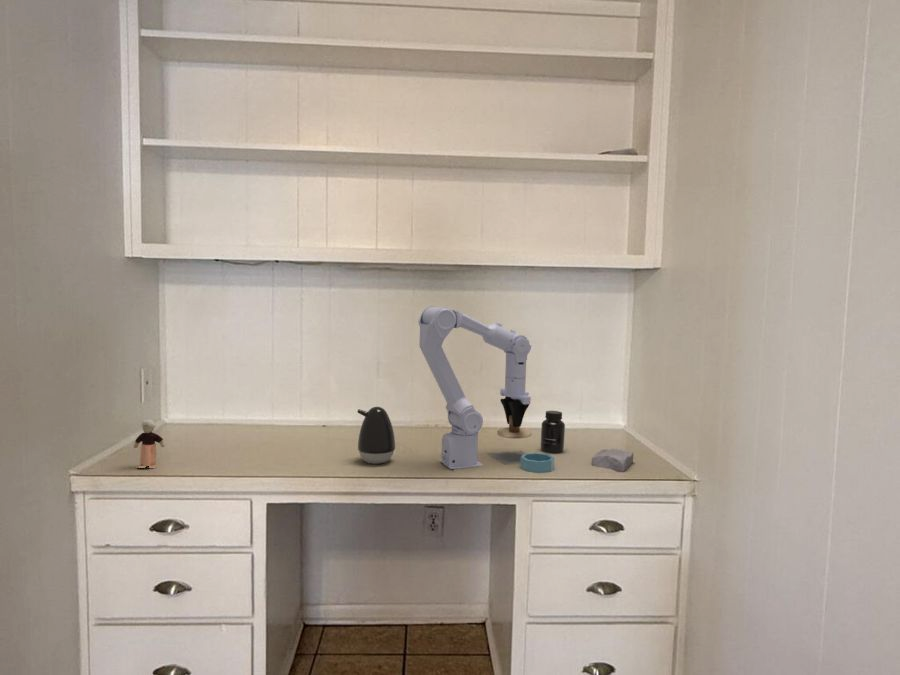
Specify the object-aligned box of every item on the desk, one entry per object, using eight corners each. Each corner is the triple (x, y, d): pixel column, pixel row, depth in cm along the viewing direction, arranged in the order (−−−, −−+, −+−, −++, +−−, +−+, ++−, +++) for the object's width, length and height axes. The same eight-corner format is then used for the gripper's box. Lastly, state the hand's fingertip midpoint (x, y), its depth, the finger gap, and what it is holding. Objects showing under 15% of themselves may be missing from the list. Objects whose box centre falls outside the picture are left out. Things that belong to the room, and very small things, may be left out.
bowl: (530, 475, 160) (531, 462, 159) (515, 466, 167) (516, 454, 167) (559, 472, 163) (559, 460, 162) (542, 463, 170) (543, 452, 170)
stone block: (590, 474, 168) (626, 473, 163) (587, 456, 168) (624, 454, 163) (601, 465, 178) (636, 463, 174) (598, 448, 178) (633, 446, 174)
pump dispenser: (359, 455, 174) (360, 402, 173) (396, 456, 174) (397, 403, 173) (354, 466, 164) (354, 410, 163) (393, 467, 164) (393, 410, 163)
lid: (506, 439, 168) (507, 421, 167) (491, 431, 177) (491, 414, 176) (537, 436, 172) (537, 418, 171) (521, 428, 180) (521, 411, 180)
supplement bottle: (546, 455, 179) (547, 414, 178) (536, 449, 185) (538, 410, 184) (567, 454, 180) (569, 413, 179) (557, 448, 187) (559, 409, 186)
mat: (504, 465, 168) (504, 464, 168) (487, 455, 178) (487, 453, 178) (539, 462, 172) (539, 460, 172) (521, 452, 182) (521, 450, 182)
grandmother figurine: (131, 470, 157) (130, 421, 156) (134, 466, 160) (133, 418, 159) (164, 468, 159) (163, 420, 158) (166, 464, 162) (166, 417, 161)
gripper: (541, 380, 168) (539, 429, 169) (516, 373, 181) (514, 418, 182) (517, 381, 165) (516, 431, 166) (494, 374, 178) (493, 420, 179)
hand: (514, 425), depth 174 cm, fingers closed on lid, 3 cm apart
